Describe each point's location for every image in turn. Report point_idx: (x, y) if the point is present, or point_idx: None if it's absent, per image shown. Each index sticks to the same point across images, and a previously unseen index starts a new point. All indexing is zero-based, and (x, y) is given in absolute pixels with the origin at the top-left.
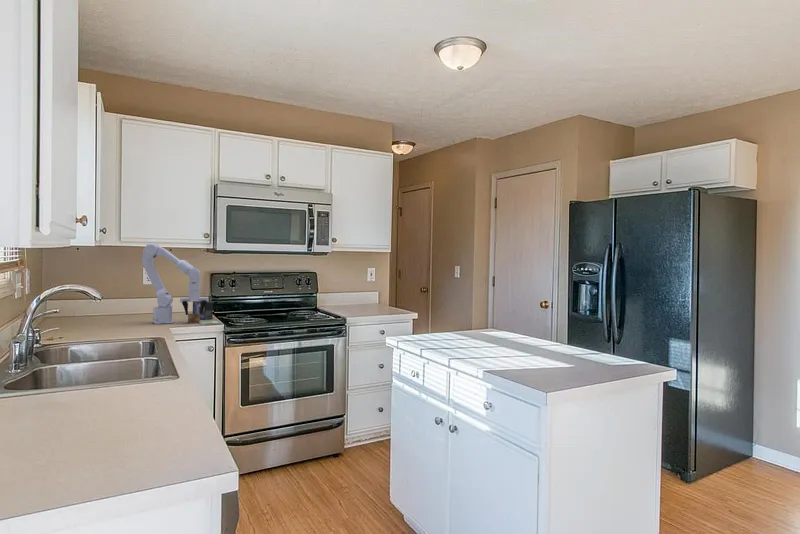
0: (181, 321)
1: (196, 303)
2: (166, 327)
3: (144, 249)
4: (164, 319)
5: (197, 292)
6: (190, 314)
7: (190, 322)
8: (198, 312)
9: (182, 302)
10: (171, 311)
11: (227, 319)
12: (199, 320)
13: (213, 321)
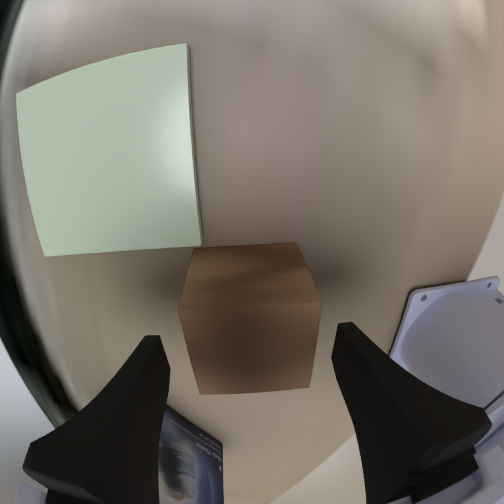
0: (322, 370)
1: None
2: (499, 69)
3: None
4: (476, 303)
5: None
6: (316, 304)
7: (292, 247)
8: (187, 460)
9: (461, 461)
10: (461, 377)
11: (18, 356)
12: (191, 261)
13: (55, 206)
